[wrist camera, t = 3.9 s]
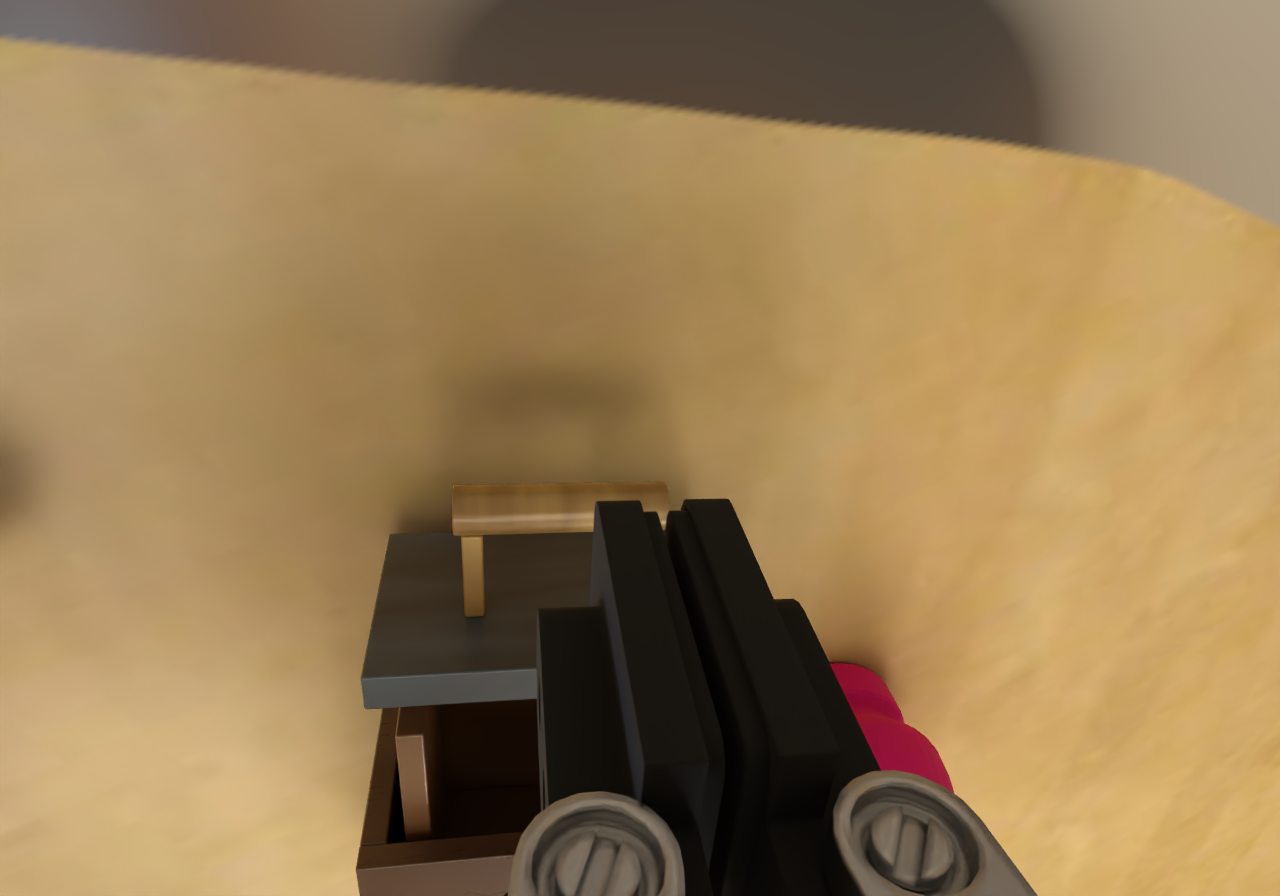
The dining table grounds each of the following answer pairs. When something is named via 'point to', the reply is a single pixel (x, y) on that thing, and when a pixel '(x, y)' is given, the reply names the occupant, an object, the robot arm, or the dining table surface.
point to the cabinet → (422, 842)
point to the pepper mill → (888, 726)
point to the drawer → (479, 646)
